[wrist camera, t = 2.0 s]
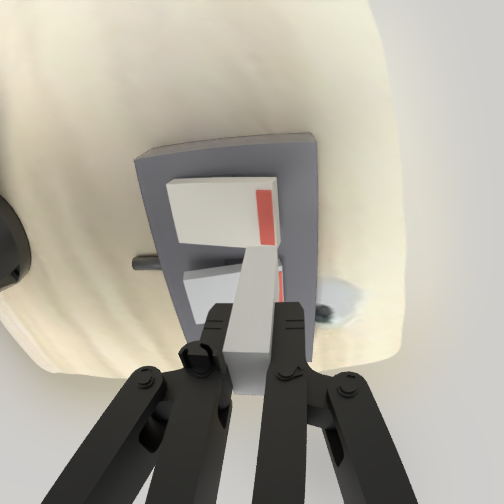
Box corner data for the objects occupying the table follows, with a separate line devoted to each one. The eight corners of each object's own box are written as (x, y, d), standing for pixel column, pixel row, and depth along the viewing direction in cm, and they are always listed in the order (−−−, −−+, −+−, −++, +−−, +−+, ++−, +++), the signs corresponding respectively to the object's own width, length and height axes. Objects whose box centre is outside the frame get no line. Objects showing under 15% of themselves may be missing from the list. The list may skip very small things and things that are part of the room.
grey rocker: (196, 315, 27) (196, 325, 26) (184, 271, 24) (182, 281, 23) (281, 303, 27) (284, 313, 26) (279, 258, 25) (282, 267, 24)
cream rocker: (186, 235, 25) (177, 244, 23) (174, 179, 22) (164, 185, 21) (280, 241, 22) (276, 251, 21) (276, 177, 20) (271, 183, 18)
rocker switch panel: (165, 334, 38) (155, 361, 34) (108, 156, 25) (81, 172, 22) (310, 336, 36) (312, 366, 32) (311, 132, 23) (317, 143, 19)
